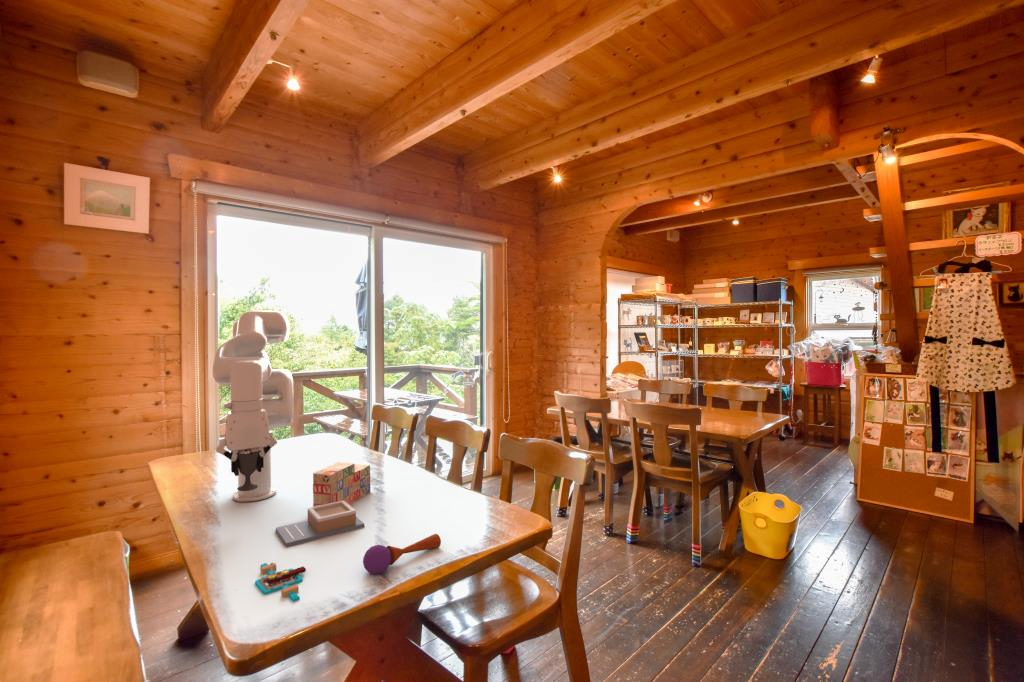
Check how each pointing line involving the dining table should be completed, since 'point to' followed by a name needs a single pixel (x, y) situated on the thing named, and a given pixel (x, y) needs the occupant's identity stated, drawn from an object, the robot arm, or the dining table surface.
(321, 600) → the dining table surface
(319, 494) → the stack of blocks
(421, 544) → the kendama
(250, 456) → the sundae
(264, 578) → the gear mechanism
